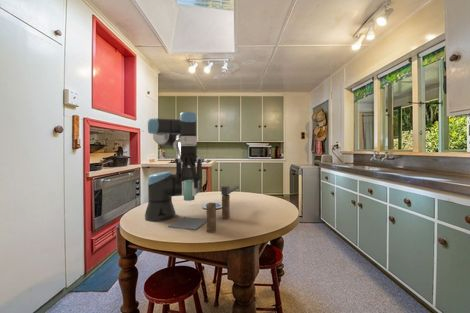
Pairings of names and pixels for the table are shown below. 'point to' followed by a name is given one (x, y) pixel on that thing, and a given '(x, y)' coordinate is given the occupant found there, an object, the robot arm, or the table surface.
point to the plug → (188, 190)
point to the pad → (188, 223)
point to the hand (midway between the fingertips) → (189, 194)
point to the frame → (212, 213)
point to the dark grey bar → (227, 190)
